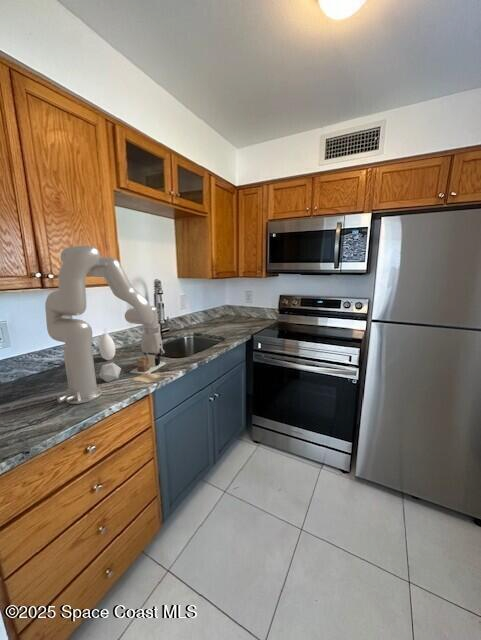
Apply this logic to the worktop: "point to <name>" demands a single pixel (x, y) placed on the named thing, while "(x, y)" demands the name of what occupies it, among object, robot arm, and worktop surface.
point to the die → (109, 372)
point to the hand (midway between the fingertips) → (153, 364)
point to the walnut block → (143, 364)
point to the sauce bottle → (107, 347)
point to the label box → (151, 359)
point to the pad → (146, 377)
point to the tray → (148, 370)
